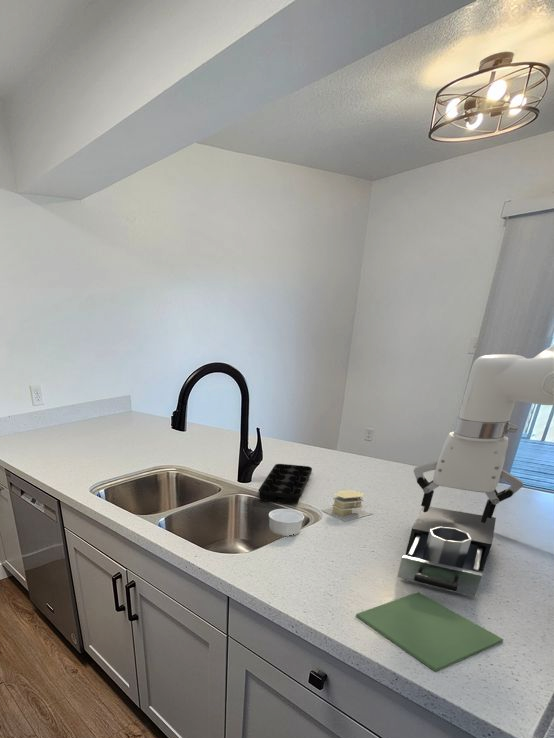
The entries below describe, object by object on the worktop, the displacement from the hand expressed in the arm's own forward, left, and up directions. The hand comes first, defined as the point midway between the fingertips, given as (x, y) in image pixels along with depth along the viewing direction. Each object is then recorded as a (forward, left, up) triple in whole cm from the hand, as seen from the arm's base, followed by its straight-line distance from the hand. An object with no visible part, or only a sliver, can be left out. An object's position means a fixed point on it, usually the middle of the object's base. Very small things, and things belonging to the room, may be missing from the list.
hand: (453, 514), depth 86 cm
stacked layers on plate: (+33, -8, -14) cm, 37 cm away
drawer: (-1, +2, -13) cm, 13 cm away
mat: (-12, +18, -14) cm, 25 cm away
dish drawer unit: (+6, -12, -14) cm, 19 cm away
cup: (0, 0, -12) cm, 12 cm away
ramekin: (+32, +14, -14) cm, 38 cm away
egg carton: (+57, -6, -14) cm, 59 cm away
